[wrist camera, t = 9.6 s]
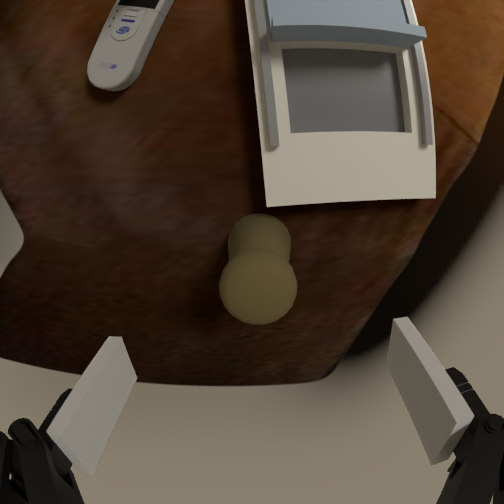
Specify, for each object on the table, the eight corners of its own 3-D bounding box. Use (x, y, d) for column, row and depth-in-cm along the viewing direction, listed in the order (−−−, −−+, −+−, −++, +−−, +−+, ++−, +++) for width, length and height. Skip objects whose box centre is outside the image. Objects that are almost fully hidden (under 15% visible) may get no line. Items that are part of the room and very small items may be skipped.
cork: (214, 244, 29) (189, 299, 19) (258, 199, 28) (256, 232, 17) (259, 285, 31) (258, 353, 20) (304, 243, 29) (326, 298, 19)
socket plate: (239, -40, 19) (237, -57, 16) (389, -32, 18) (400, -45, 15) (266, 201, 28) (266, 209, 25) (423, 193, 27) (439, 199, 24)
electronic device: (33, 76, 16) (113, -75, 10) (92, 86, 25) (149, -32, 19) (80, 85, 16) (168, -77, 11) (133, 96, 25) (193, -28, 20)
